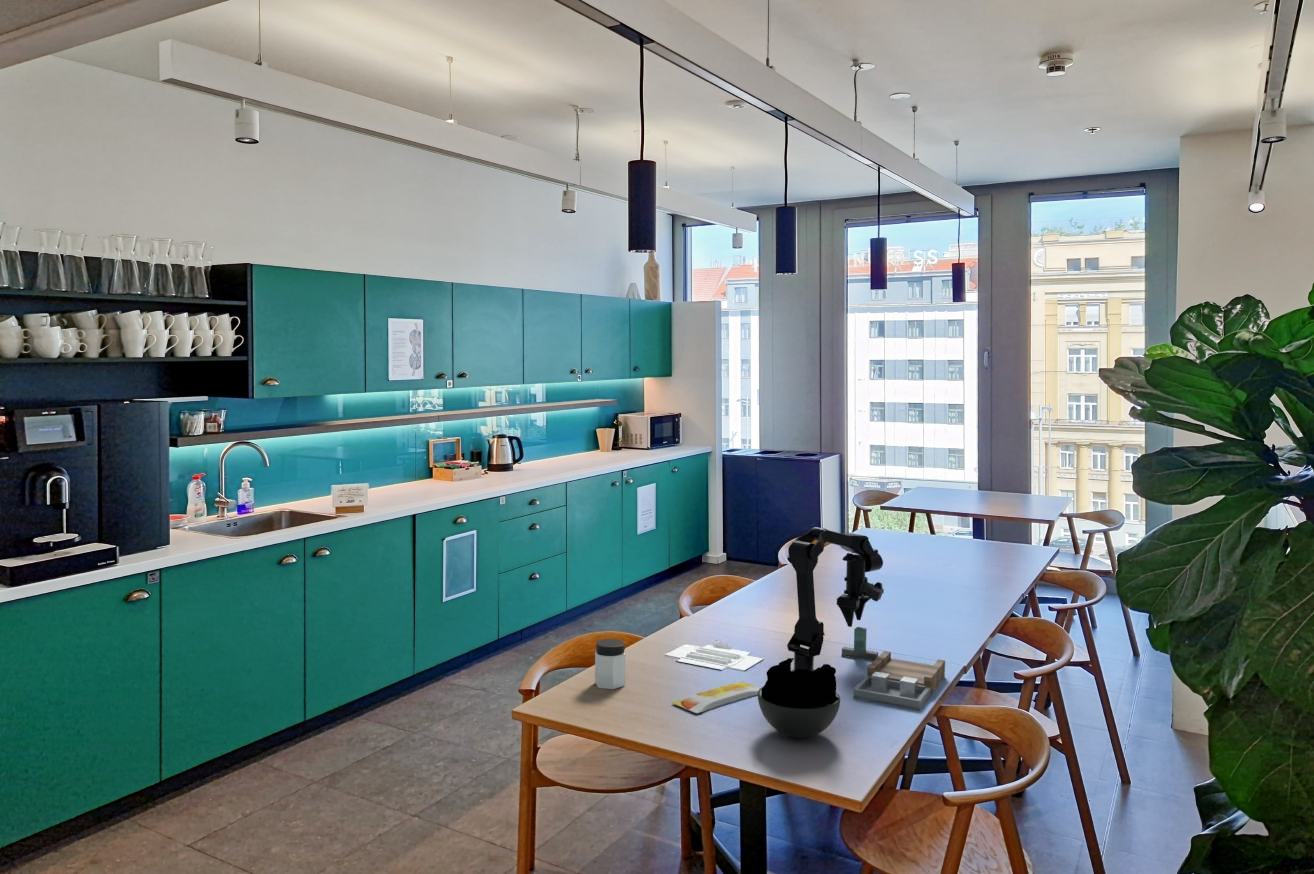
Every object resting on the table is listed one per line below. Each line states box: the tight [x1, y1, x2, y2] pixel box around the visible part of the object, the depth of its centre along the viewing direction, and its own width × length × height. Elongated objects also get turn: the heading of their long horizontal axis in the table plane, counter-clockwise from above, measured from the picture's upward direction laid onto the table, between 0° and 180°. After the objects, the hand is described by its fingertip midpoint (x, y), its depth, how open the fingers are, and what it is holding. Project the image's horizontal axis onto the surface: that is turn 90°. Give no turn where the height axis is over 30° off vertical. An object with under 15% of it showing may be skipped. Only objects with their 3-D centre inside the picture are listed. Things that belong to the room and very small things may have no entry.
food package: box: [671, 681, 761, 714], centre depth 244 cm, size 27×2×10 cm
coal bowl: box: [757, 657, 841, 739], centre depth 219 cm, size 20×20×19 cm
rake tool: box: [841, 626, 879, 662], centre depth 282 cm, size 3×11×9 cm, turn 60°
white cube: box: [871, 672, 890, 692], centre depth 252 cm, size 4×4×4 cm
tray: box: [664, 639, 765, 672], centre depth 281 cm, size 20×28×4 cm
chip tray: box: [852, 675, 932, 711], centre depth 247 cm, size 13×18×2 cm
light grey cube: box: [900, 677, 918, 697], centre depth 248 cm, size 4×4×4 cm
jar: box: [594, 638, 626, 690], centre depth 254 cm, size 9×8×12 cm
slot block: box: [866, 650, 946, 696], centre depth 261 cm, size 18×18×5 cm
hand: (854, 623), depth 281 cm, fingers open, 9 cm apart
